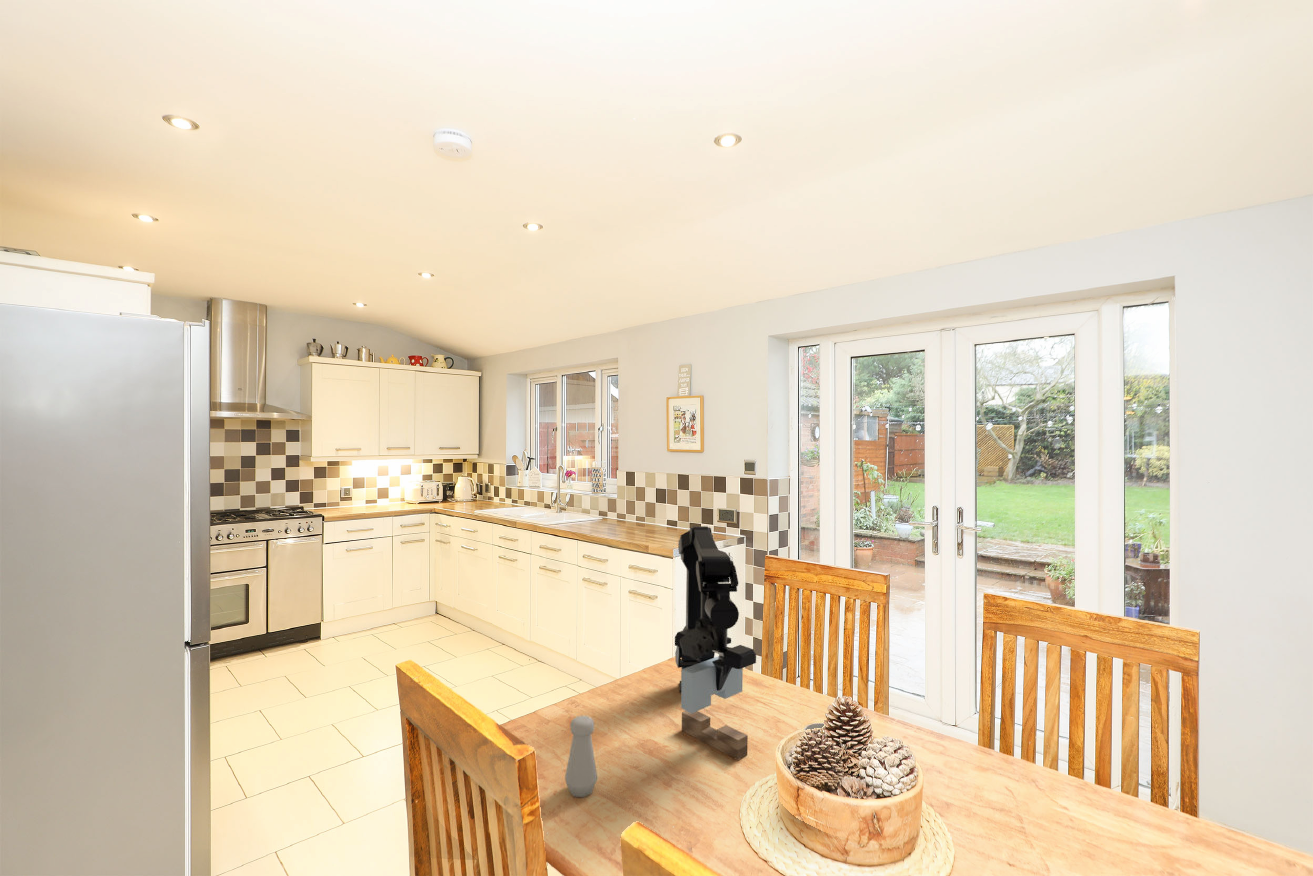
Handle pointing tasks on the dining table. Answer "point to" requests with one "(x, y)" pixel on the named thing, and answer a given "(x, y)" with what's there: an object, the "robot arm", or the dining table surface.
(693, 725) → the walnut rail
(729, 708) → the dining table surface
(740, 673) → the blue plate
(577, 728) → the salt shaker
